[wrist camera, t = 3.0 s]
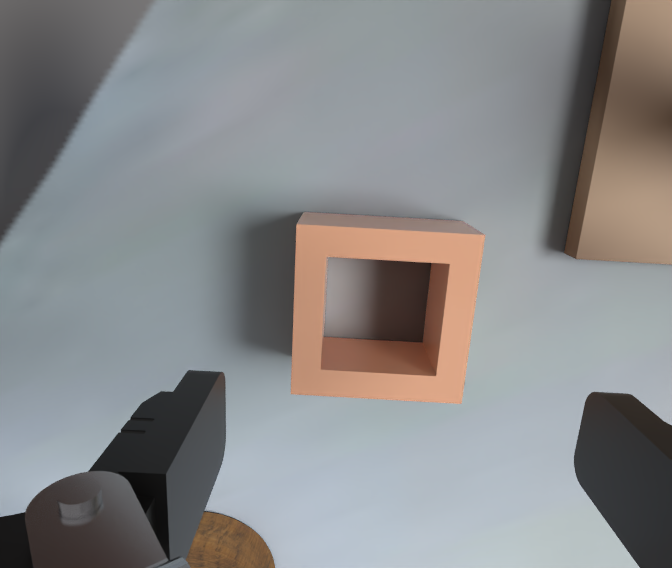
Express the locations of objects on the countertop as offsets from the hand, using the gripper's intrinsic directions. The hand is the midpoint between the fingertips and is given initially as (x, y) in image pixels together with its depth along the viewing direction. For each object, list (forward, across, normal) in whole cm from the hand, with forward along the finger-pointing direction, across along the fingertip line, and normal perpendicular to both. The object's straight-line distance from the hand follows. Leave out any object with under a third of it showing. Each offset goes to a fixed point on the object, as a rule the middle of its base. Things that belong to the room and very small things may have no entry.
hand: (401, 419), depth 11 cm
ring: (+9, 0, 0) cm, 9 cm away
